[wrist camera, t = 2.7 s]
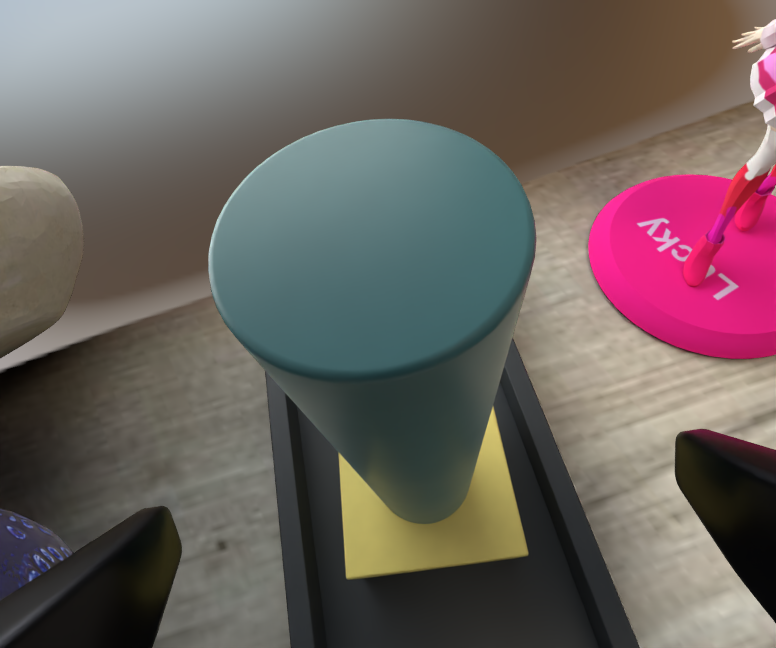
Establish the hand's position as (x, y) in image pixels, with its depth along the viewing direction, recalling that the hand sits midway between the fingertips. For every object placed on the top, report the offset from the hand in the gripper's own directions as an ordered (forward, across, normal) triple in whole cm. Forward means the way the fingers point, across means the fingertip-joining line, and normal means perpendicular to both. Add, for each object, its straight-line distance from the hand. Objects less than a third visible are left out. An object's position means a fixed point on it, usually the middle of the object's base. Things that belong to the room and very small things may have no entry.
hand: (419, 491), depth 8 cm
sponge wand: (+7, 0, +5) cm, 9 cm away
